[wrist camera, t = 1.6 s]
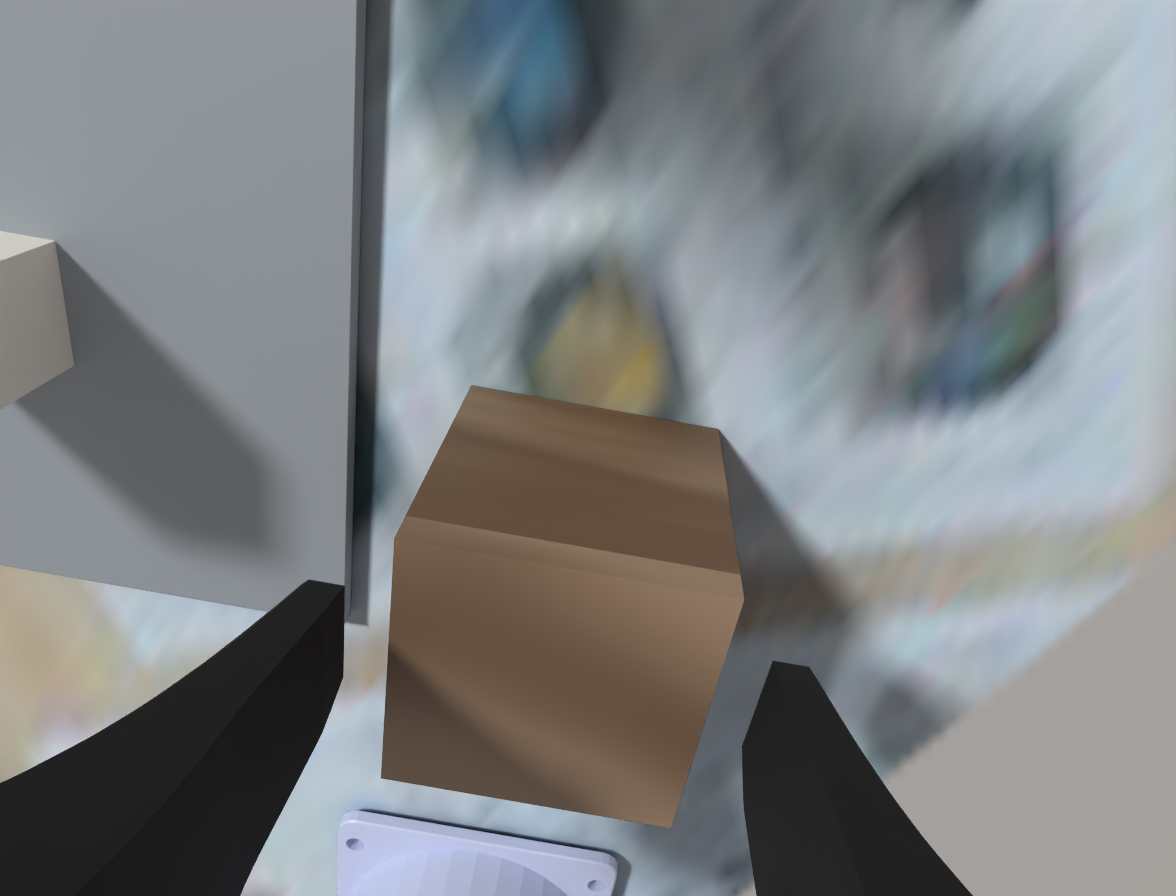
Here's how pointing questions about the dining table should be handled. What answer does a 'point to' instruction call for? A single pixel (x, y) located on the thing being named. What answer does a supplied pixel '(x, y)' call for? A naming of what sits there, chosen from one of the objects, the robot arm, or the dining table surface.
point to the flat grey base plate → (180, 292)
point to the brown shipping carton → (561, 608)
